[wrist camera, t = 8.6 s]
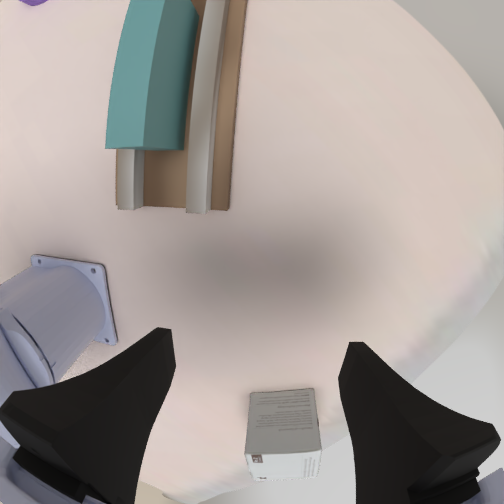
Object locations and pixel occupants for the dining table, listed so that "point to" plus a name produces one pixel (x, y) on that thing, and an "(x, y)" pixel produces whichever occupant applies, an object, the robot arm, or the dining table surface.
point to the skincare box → (283, 436)
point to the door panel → (152, 76)
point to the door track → (195, 125)
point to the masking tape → (33, 2)
